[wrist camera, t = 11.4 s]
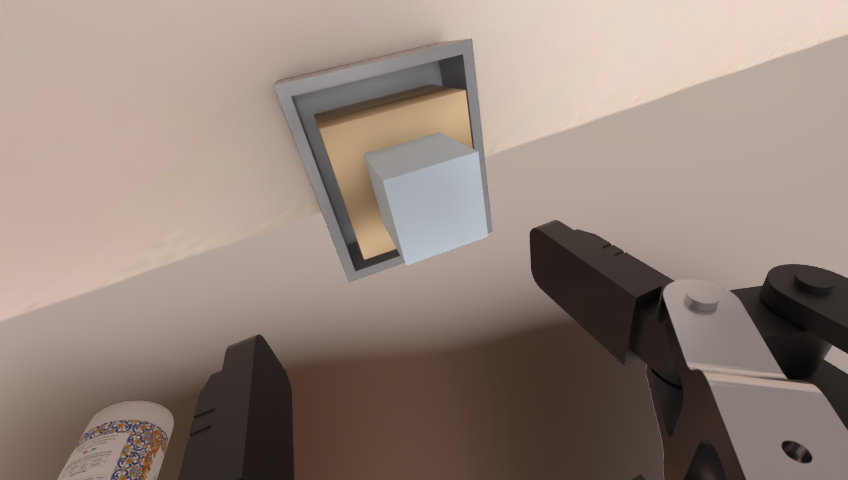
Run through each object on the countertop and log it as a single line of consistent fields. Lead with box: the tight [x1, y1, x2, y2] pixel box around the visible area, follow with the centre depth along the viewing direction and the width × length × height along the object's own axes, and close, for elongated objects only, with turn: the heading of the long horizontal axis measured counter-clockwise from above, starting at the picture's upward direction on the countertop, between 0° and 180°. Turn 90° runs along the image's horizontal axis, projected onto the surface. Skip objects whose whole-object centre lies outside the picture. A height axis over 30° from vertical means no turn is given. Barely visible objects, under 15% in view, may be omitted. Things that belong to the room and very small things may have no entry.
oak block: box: [314, 84, 473, 260], centre depth 28 cm, size 10×10×7 cm
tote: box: [273, 39, 492, 282], centre depth 29 cm, size 16×14×6 cm
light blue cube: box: [363, 132, 488, 265], centre depth 22 cm, size 6×6×6 cm
